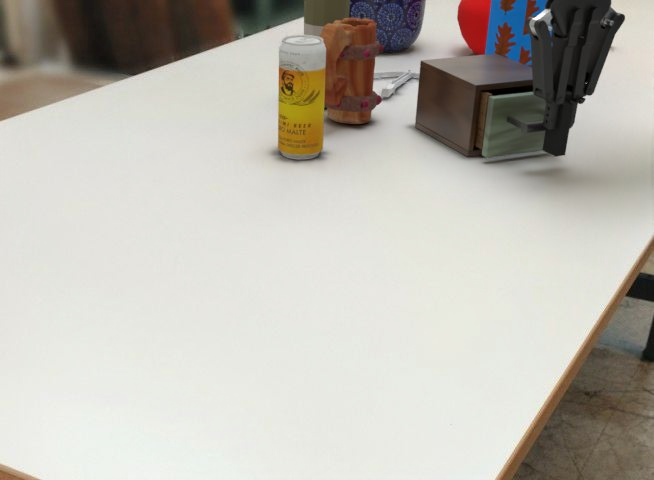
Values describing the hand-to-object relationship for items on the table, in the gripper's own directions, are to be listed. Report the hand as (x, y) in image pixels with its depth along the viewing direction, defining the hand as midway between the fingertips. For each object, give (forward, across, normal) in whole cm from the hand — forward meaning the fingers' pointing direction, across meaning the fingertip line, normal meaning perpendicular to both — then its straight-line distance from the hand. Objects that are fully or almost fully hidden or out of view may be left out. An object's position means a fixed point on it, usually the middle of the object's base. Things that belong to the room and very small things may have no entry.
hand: (553, 152), depth 119 cm
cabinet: (+3, 0, -17) cm, 17 cm away
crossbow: (+3, -2, -45) cm, 45 cm away
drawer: (+2, 0, -11) cm, 11 cm away
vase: (+3, -32, -59) cm, 67 cm away
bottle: (+3, +14, -40) cm, 43 cm away
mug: (+3, +16, -29) cm, 33 cm away
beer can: (+3, +27, -19) cm, 33 cm away
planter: (+3, -14, -73) cm, 74 cm away
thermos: (+3, -21, -39) cm, 45 cm away
